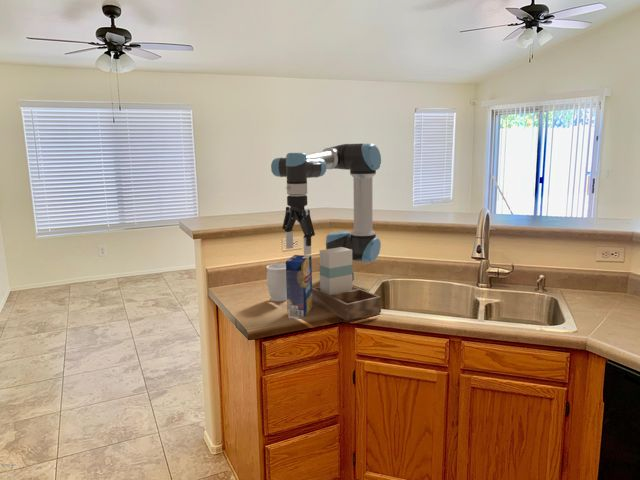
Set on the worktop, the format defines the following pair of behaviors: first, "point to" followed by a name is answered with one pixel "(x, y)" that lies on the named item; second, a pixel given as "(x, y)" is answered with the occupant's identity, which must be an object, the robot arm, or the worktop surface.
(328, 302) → the bin
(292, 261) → the blue food box
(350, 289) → the banded carton
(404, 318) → the worktop surface
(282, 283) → the jar
